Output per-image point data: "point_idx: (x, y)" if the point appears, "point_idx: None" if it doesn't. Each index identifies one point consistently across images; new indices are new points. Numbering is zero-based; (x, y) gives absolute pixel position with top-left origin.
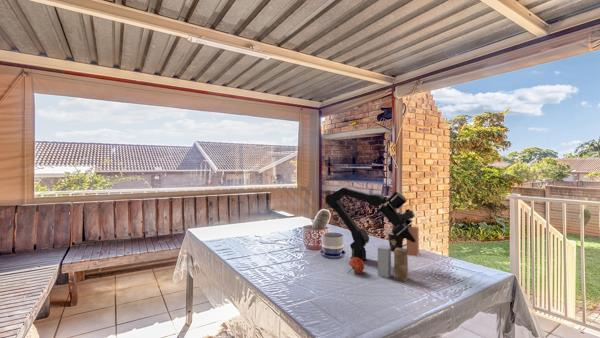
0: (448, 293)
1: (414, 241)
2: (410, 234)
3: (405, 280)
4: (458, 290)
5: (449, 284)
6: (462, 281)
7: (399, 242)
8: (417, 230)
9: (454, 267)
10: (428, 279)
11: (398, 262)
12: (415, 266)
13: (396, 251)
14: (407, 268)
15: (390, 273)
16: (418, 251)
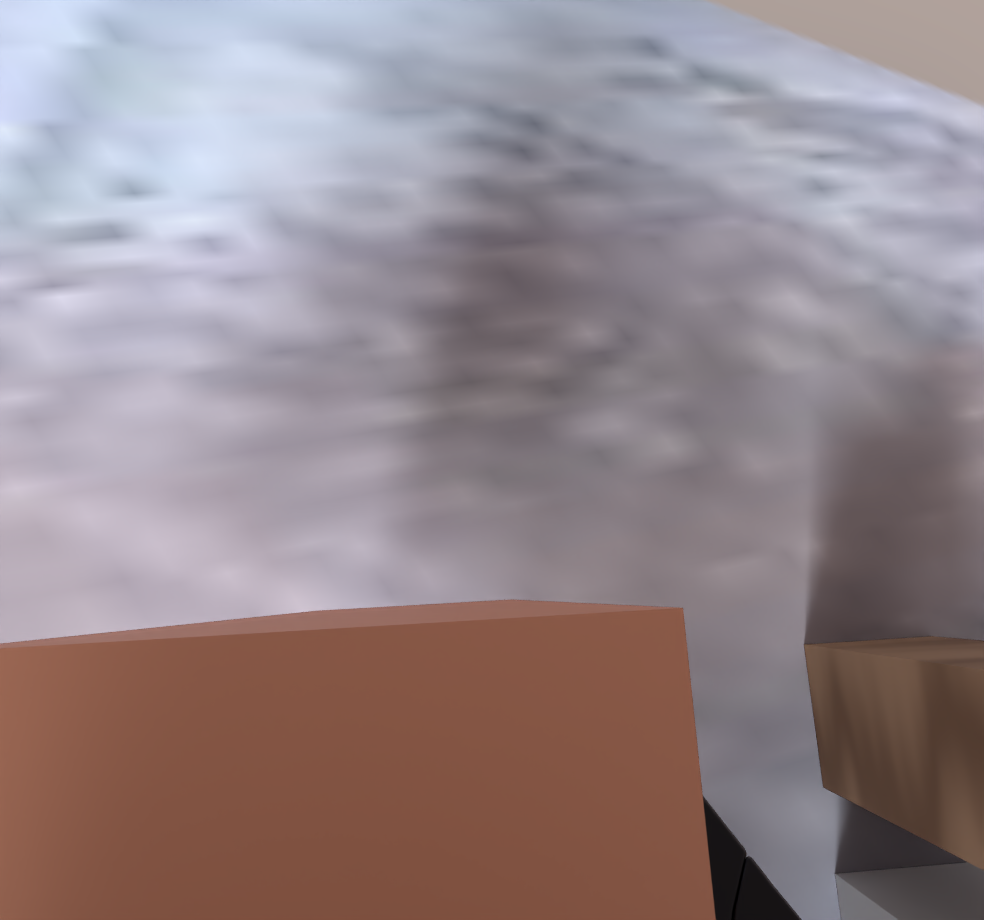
0: (943, 200)
1: None
2: (758, 884)
3: (937, 637)
4: (810, 131)
5: (707, 213)
6: (537, 112)
7: None
8: (413, 618)
9: (71, 215)
10: (699, 420)
11: None
12: None
13: None
14: (887, 653)
15: (881, 881)
16: (334, 610)
